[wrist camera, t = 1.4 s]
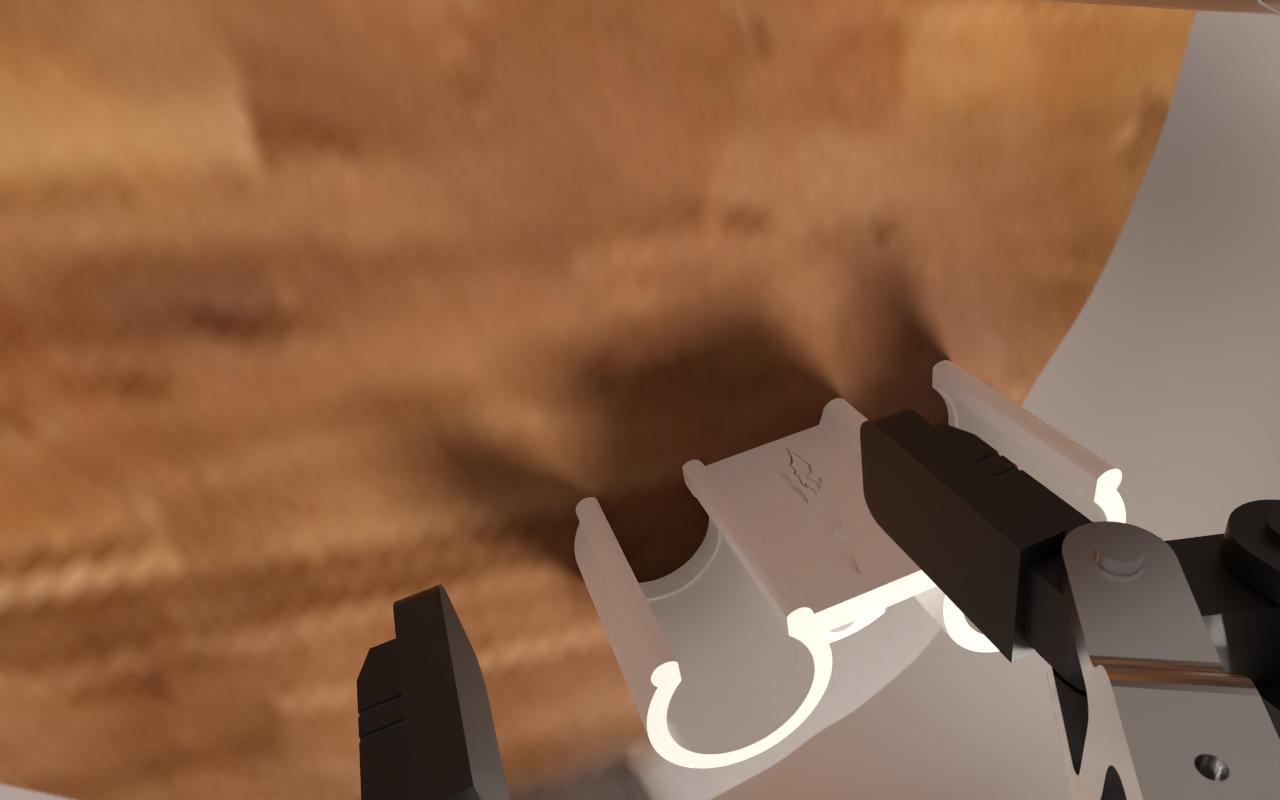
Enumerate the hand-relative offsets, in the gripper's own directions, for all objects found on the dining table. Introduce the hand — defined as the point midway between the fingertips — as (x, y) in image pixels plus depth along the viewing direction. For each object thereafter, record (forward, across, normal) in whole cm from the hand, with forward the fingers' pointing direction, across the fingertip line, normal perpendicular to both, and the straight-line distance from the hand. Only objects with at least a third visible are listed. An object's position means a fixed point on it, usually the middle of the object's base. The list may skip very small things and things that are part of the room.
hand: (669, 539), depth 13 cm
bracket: (+24, -12, +22) cm, 35 cm away
